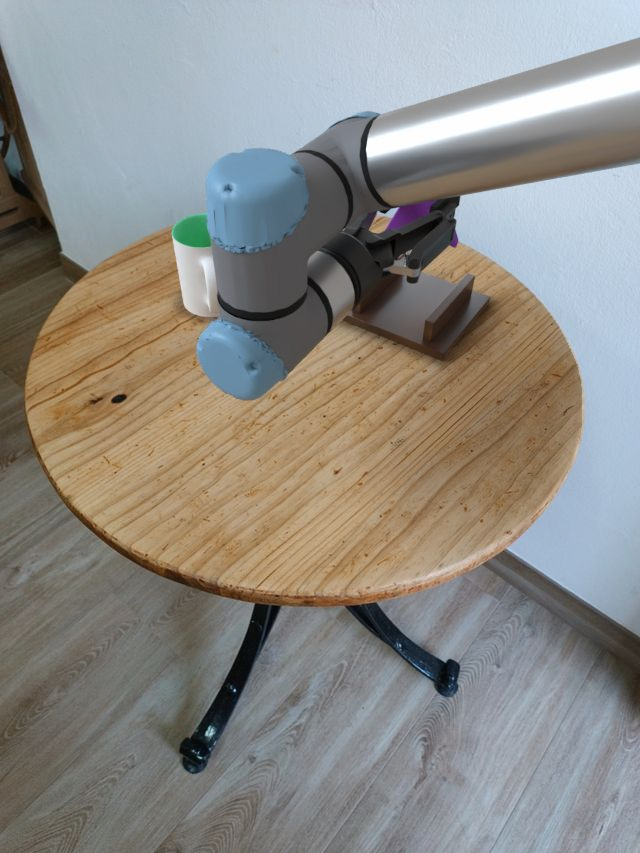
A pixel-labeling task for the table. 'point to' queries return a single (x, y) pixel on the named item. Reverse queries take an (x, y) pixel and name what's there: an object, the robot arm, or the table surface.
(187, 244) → the mug
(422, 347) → the rack
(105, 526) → the table surface
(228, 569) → the table surface
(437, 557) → the table surface
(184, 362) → the table surface
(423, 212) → the arrowhead
